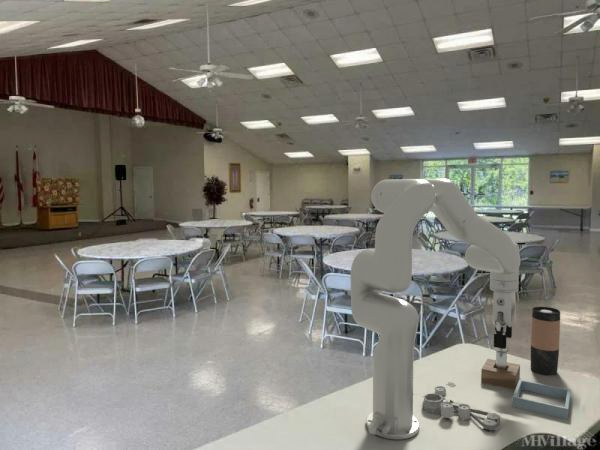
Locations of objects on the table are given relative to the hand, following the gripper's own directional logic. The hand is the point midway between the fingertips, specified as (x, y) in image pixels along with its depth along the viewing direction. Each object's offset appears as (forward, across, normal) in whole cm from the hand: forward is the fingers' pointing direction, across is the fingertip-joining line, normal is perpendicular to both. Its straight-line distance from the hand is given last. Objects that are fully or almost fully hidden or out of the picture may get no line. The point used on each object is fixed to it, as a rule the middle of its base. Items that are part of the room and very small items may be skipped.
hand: (502, 342), depth 134 cm
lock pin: (+11, -1, 0) cm, 11 cm away
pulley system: (+12, -23, +9) cm, 27 cm away
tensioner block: (+12, -1, 0) cm, 12 cm away
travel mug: (+13, +13, -10) cm, 21 cm away
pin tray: (+12, -10, -11) cm, 19 cm away
